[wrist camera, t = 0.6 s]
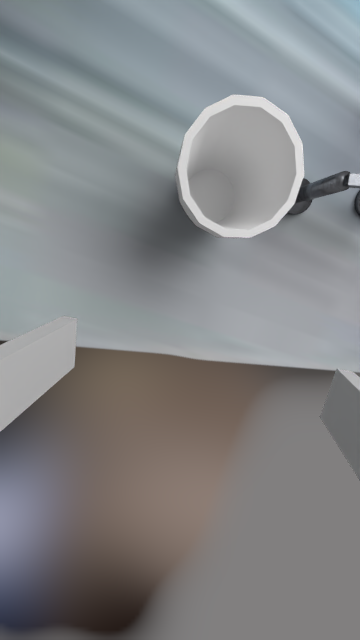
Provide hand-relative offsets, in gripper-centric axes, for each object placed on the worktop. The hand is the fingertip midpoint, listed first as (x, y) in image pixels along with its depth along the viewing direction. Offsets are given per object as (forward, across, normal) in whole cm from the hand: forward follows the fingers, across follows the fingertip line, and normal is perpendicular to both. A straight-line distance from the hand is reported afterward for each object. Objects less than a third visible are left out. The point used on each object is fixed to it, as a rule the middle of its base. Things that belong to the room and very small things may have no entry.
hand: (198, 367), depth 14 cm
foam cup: (+23, -2, +11) cm, 25 cm away
